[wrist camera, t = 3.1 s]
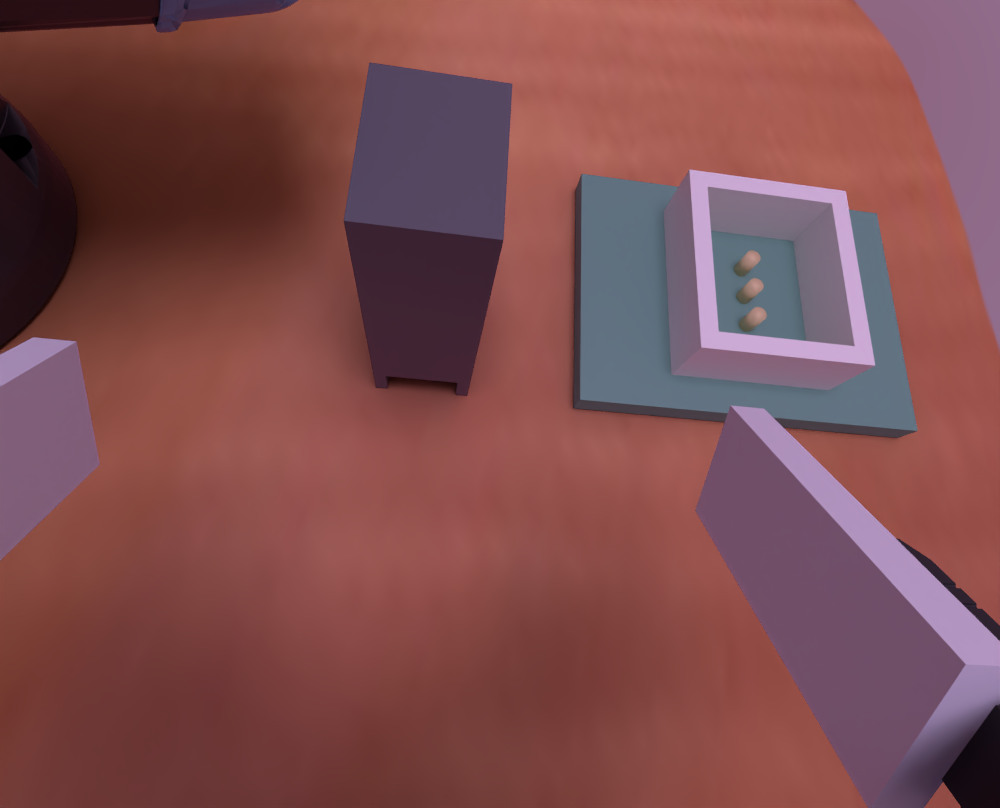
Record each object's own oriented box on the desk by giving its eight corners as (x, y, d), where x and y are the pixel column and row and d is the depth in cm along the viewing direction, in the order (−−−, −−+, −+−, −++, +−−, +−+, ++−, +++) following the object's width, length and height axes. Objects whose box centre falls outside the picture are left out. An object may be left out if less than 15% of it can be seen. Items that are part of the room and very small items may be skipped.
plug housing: (376, 387, 26) (344, 220, 15) (389, 283, 28) (369, 62, 16) (467, 395, 26) (503, 239, 15) (474, 292, 28) (511, 83, 17)
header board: (573, 408, 27) (600, 374, 23) (575, 189, 31) (598, 128, 27) (897, 437, 29) (974, 411, 25) (860, 227, 32) (921, 174, 29)
